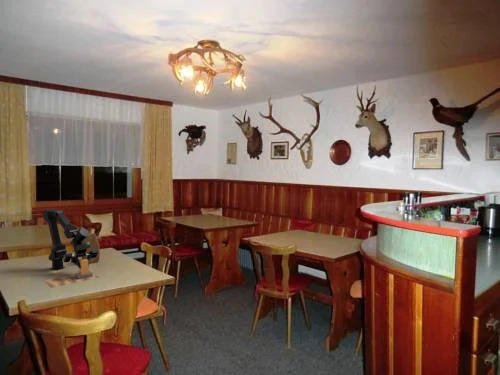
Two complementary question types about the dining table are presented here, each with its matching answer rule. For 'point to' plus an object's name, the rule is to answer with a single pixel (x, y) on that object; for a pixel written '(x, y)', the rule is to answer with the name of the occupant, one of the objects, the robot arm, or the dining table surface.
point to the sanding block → (83, 270)
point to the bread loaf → (92, 247)
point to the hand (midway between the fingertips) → (84, 267)
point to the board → (66, 280)
